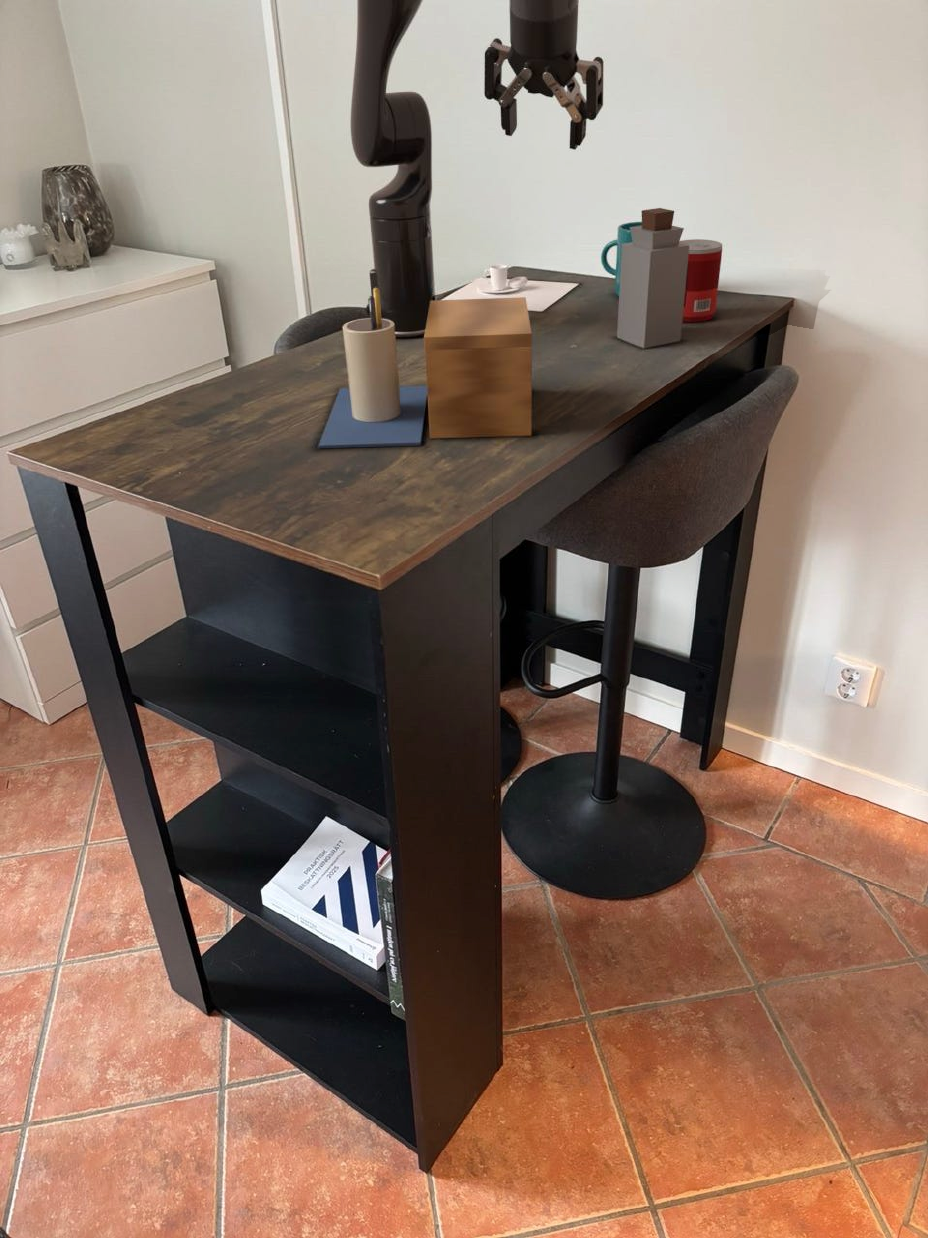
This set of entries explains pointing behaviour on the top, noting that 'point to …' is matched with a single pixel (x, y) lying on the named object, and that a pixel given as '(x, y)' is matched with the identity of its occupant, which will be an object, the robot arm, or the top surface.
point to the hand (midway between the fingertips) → (542, 138)
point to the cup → (618, 251)
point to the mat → (377, 423)
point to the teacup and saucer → (513, 289)
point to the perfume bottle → (652, 281)
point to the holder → (372, 366)
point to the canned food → (701, 279)
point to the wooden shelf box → (479, 368)
